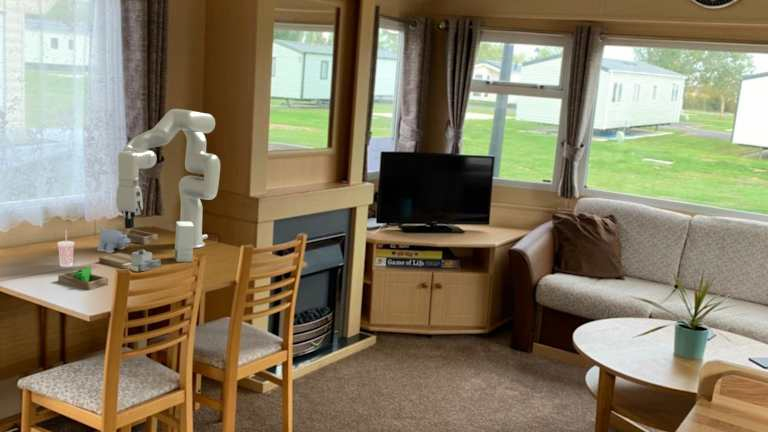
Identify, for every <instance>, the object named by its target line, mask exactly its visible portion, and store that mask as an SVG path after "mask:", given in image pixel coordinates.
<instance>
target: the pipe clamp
mask: <svg viewBox="0 0 768 432" xmlns="http://www.w3.org/2000/svg"><path fill="white" fill-rule="evenodd" d="M77 271H78V273H75V275H76V279H80V280H81V285H82V281H88V282H91V281H90V274H92V266H87V267H86V269H84V268H78V269H77Z"/></svg>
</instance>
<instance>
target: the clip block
mask: <svg viewBox="0 0 768 432" xmlns="http://www.w3.org/2000/svg"><path fill="white" fill-rule="evenodd" d="M131 255H132V256H131V265H133V266H137V267H138V264H141V263H145V262H149V261H152V260H153V252H151V251H146V250H145V249H138V250H137V251H133V252H131Z"/></svg>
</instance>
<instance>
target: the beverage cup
mask: <svg viewBox="0 0 768 432" xmlns="http://www.w3.org/2000/svg"><path fill="white" fill-rule="evenodd" d="M67 238H68V230H67V229H66V230H65V240H62V241H58V242H57V246H58V259H59V266H60V267H64V268H65V267H66V268H68V267H72V266H73V263H74V248H75V243H76V242H74V241H70V240H68V239H67Z"/></svg>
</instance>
